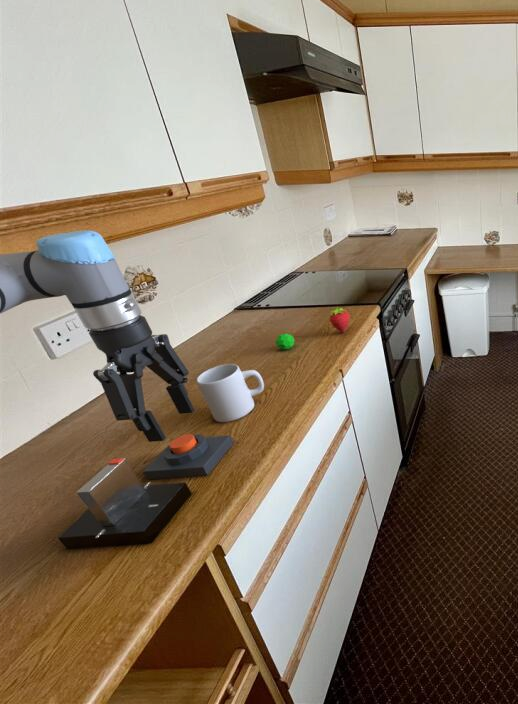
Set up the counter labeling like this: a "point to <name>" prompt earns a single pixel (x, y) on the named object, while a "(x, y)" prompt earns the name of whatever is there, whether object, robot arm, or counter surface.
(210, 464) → the button box
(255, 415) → the counter surface
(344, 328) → the strawberry
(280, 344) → the polyhedron
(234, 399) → the mug
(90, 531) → the panel
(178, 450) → the button
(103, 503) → the grey metallic block
